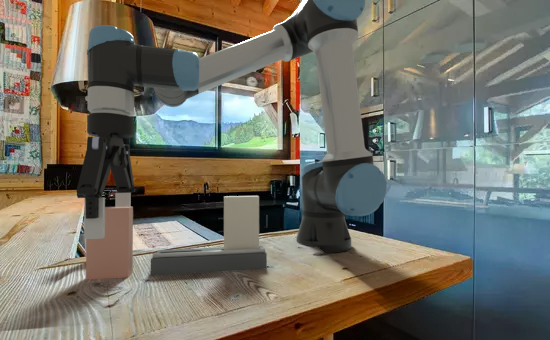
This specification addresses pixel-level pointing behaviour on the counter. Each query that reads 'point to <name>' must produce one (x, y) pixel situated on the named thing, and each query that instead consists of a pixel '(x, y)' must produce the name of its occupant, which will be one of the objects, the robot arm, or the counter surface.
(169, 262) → the grey stand base
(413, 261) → the counter surface
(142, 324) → the counter surface
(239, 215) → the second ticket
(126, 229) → the panel
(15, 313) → the counter surface
